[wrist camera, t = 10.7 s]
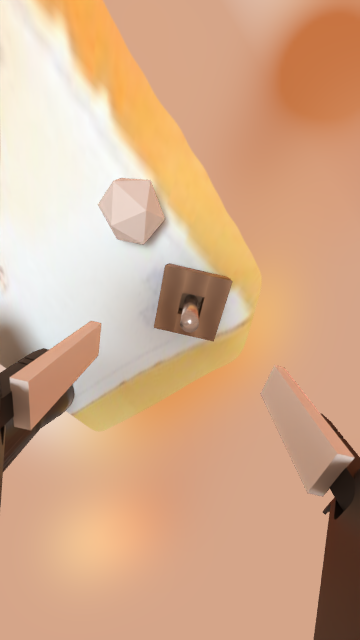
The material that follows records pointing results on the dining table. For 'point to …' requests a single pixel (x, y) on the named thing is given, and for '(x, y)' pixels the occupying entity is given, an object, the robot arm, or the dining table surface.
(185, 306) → the pin
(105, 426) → the dining table surface
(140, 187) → the die
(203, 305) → the socket block
